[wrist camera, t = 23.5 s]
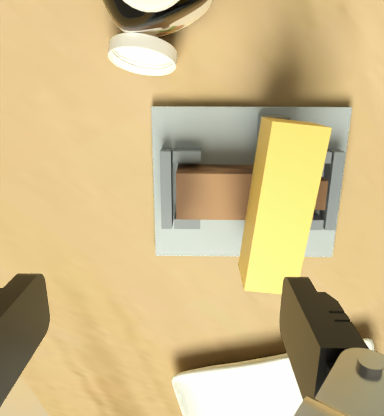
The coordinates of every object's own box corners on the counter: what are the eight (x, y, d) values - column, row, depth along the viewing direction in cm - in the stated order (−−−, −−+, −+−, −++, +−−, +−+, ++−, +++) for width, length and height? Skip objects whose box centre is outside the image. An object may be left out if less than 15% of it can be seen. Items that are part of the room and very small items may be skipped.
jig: (156, 251, 47) (151, 273, 41) (152, 106, 41) (145, 108, 36) (328, 253, 46) (347, 275, 41) (347, 106, 41) (372, 109, 35)
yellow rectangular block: (238, 264, 40) (244, 290, 35) (261, 116, 35) (272, 121, 30) (282, 269, 40) (295, 295, 35) (312, 122, 36) (332, 127, 30)
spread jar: (196, -64, 36) (196, -132, 25) (229, 53, 40) (241, 38, 28) (86, -19, 38) (39, -65, 27) (126, 90, 41) (100, 89, 30)
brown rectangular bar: (178, 205, 44) (176, 219, 39) (178, 164, 42) (175, 173, 37) (312, 206, 43) (326, 220, 39) (317, 165, 42) (332, 174, 37)
